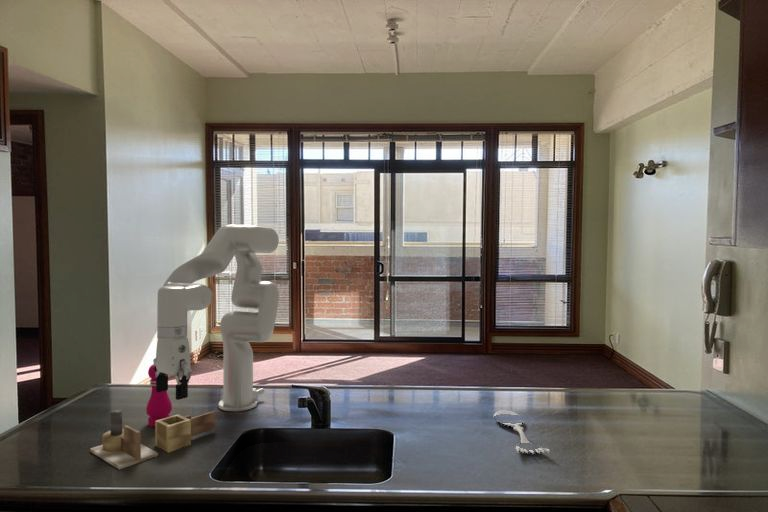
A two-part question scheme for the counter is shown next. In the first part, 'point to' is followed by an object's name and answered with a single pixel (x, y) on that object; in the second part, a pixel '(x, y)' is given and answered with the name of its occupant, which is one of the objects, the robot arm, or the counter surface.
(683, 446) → the counter surface
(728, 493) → the counter surface
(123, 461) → the hinge base
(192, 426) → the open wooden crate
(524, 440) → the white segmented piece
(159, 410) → the pepper mill
